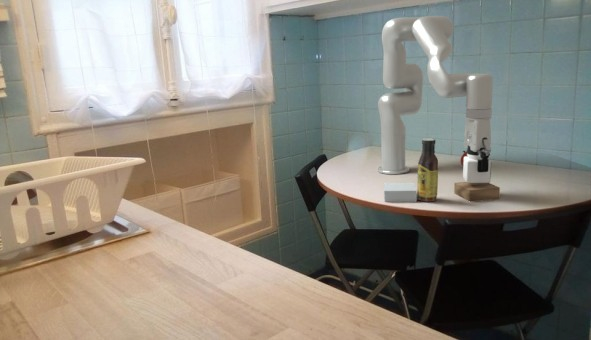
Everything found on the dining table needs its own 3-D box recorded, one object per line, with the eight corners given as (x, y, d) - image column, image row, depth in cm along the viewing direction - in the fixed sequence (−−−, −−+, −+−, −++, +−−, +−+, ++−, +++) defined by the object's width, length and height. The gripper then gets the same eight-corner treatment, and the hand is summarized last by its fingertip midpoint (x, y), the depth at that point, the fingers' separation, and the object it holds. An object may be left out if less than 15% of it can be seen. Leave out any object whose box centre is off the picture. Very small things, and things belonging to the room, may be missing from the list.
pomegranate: (482, 172, 191) (471, 154, 197) (487, 161, 186) (475, 142, 192) (465, 176, 190) (454, 158, 196) (470, 164, 185) (458, 146, 191)
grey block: (384, 194, 162) (383, 183, 161) (413, 194, 161) (413, 182, 160) (384, 202, 153) (384, 191, 152) (416, 202, 151) (416, 190, 150)
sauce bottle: (414, 197, 155) (414, 137, 151) (433, 196, 156) (433, 136, 151) (421, 203, 149) (421, 141, 144) (440, 201, 149) (441, 139, 145)
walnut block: (454, 194, 158) (454, 182, 157) (482, 191, 159) (482, 180, 158) (469, 202, 148) (469, 190, 147) (499, 199, 149) (499, 187, 148)
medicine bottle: (490, 183, 148) (492, 145, 145) (466, 183, 150) (468, 145, 147) (485, 177, 155) (487, 141, 152) (462, 177, 156) (464, 141, 154)
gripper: (456, 112, 156) (455, 164, 160) (478, 118, 139) (476, 175, 143) (478, 110, 156) (477, 162, 160) (503, 116, 139) (501, 174, 143)
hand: (476, 168), depth 151 cm, fingers closed on medicine bottle, 8 cm apart
